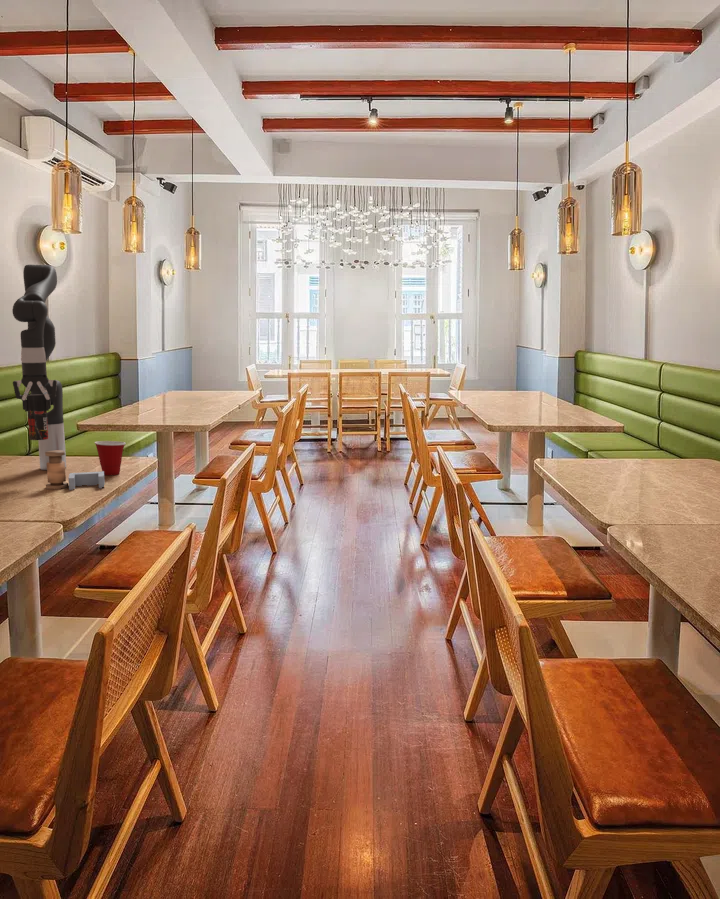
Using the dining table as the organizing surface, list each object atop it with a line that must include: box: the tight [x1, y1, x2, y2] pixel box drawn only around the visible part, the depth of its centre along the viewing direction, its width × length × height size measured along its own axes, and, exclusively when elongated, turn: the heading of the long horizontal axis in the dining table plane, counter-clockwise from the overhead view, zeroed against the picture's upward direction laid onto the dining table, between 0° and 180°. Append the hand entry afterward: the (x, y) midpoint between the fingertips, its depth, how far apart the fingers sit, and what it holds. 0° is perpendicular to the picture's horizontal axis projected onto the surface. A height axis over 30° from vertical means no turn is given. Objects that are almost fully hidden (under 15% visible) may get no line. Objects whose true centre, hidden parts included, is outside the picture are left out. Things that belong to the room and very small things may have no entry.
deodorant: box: [27, 394, 48, 441], centre depth 254 cm, size 6×6×15 cm
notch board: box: [67, 470, 106, 491], centre depth 251 cm, size 9×11×4 cm
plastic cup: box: [94, 440, 126, 476], centre depth 272 cm, size 11×11×12 cm
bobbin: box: [45, 450, 69, 490], centre depth 249 cm, size 7×7×12 cm
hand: (37, 410), depth 254 cm, fingers closed on deodorant, 6 cm apart
